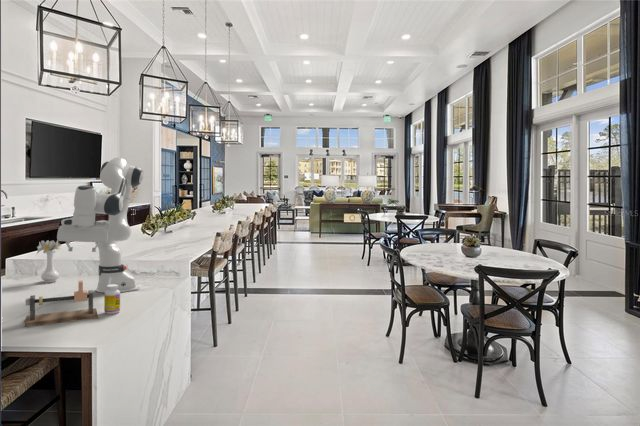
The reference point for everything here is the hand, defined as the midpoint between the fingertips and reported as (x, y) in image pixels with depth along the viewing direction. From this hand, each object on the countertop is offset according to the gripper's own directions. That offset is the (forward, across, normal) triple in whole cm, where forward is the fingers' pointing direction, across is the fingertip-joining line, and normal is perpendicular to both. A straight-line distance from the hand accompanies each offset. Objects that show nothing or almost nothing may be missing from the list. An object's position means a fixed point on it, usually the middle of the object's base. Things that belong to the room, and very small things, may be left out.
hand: (82, 251), depth 193 cm
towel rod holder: (+30, +6, +4) cm, 30 cm away
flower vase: (+31, +24, -75) cm, 84 cm away
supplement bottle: (+29, -14, 0) cm, 32 cm away
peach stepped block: (+22, -1, +3) cm, 22 cm away
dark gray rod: (+22, +7, +4) cm, 24 cm away
